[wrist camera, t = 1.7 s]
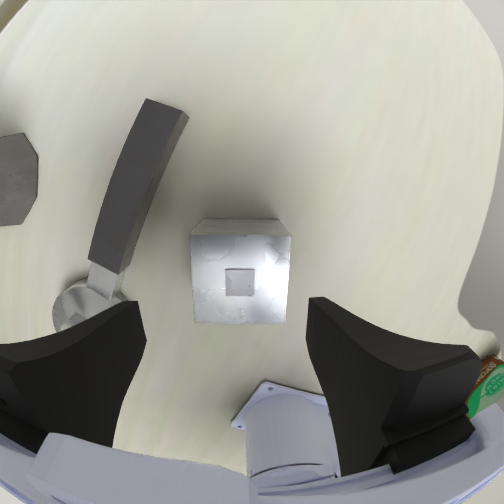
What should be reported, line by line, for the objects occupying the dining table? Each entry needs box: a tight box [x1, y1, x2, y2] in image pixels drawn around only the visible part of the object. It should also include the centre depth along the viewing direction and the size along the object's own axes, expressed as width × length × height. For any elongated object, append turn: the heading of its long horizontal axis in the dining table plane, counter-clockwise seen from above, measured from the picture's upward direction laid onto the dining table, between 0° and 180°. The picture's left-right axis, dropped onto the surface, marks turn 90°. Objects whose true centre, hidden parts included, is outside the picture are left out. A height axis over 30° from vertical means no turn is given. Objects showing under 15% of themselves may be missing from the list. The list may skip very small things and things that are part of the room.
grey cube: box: [190, 219, 291, 324], centre depth 17 cm, size 5×5×5 cm
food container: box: [465, 355, 504, 420], centre depth 22 cm, size 12×6×10 cm, turn 136°
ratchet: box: [52, 98, 189, 332], centre depth 17 cm, size 8×22×5 cm, turn 154°
